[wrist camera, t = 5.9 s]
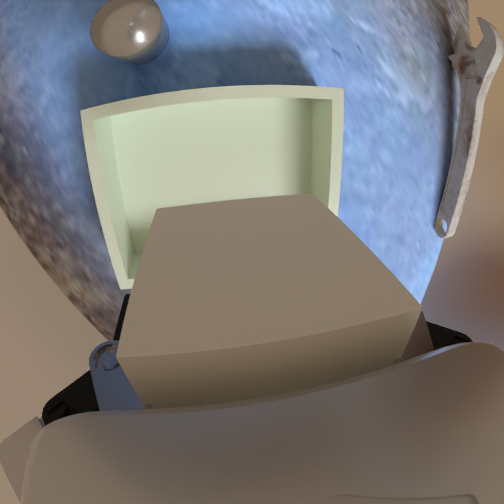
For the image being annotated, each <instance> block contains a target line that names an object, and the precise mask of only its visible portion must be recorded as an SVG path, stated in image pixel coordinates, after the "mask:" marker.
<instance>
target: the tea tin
mask: <svg viewBox="0 0 504 504" xmlns="http://www.w3.org/2000/svg"><path fill="white" fill-rule="evenodd" d="M90 34H91V40H92V42H93V44H94V46H95V47H96V48H97V49H98V50H99V51H101V52H103V53H105V54H107V55H109V56H112V57H114V58H116V59H119V60H121V61H123V62H125V63H129V64H142V63H146V62H148V61H150V60H152V59H154V58H155V57H157V56H158V55H159V54H160V53H161V52H162V51H163V50H164V48H165V46H166V44H167V42H168V38H169V30H168V27H167V24H166V22H165V20H164V18H163V16H162V13H161V11H160V9H159V7H158V5H157V3H156V2H155V1H154V0H110V1H109V2H107V3H106V4H105V5H104V6H103V7H102V8H101V9H100V10H99V11H98V12H97V14H96V15H95V17H94V19H93V21H92V24H91V30H90Z"/></svg>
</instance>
